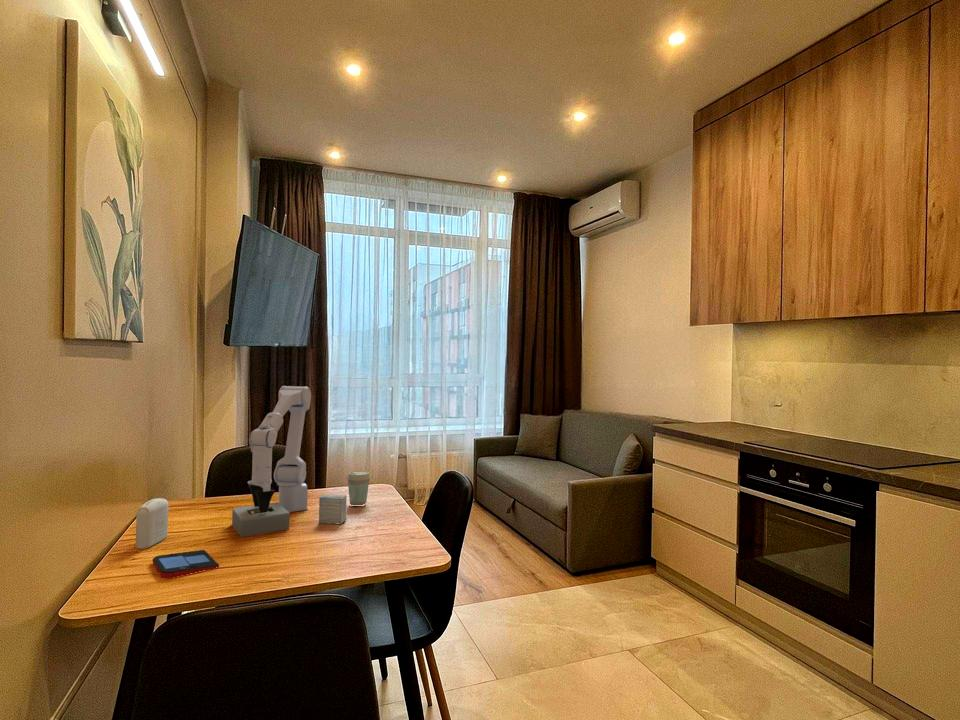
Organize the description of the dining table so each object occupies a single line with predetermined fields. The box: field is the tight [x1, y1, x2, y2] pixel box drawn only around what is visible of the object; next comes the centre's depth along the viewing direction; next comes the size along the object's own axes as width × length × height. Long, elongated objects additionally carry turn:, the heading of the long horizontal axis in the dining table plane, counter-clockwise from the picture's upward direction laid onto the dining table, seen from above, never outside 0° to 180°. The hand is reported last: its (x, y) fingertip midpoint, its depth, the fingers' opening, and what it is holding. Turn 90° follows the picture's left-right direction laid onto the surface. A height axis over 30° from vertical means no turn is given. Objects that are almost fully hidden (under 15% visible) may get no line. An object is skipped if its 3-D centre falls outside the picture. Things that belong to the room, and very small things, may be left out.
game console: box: [152, 549, 220, 579], centre depth 130 cm, size 14×13×2 cm
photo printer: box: [135, 497, 169, 550], centre depth 145 cm, size 10×4×12 cm, turn 2°
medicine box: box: [318, 494, 347, 525], centre depth 168 cm, size 8×4×9 cm, turn 84°
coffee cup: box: [346, 470, 371, 505], centre depth 189 cm, size 9×8×12 cm
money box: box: [231, 502, 291, 538], centre depth 162 cm, size 14×14×5 cm
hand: (260, 509), depth 162 cm, fingers open, 7 cm apart
